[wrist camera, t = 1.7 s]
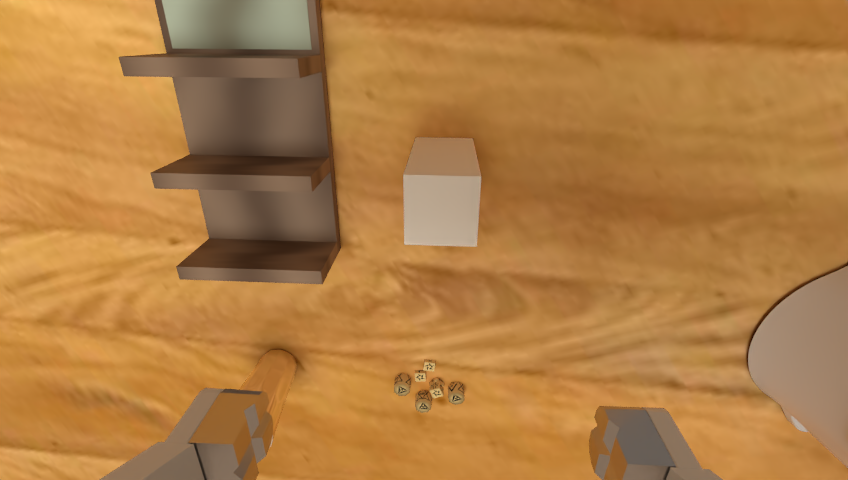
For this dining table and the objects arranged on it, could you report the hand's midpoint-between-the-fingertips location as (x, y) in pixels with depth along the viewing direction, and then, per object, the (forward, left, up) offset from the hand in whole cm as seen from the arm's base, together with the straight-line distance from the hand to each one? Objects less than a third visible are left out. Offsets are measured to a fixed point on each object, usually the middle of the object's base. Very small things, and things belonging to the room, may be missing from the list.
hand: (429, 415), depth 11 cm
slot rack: (+13, -4, -23) cm, 26 cm away
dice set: (+1, +21, -24) cm, 31 cm away
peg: (0, 0, -23) cm, 23 cm away
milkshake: (+15, +19, -23) cm, 33 cm away
